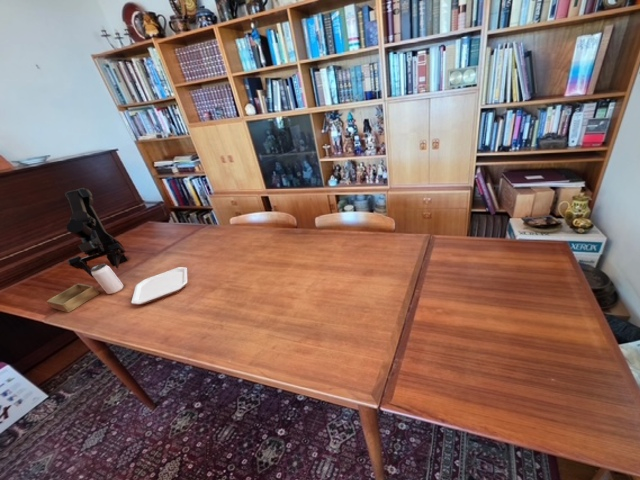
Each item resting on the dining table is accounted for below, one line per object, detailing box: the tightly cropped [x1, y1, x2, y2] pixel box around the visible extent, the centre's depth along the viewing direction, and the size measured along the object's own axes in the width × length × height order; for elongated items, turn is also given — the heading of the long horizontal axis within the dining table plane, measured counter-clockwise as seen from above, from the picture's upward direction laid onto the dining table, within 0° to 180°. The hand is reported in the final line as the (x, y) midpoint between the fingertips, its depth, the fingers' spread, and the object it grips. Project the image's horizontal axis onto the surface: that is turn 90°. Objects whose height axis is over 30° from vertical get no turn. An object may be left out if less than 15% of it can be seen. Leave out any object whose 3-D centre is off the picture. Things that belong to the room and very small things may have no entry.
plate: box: [130, 266, 188, 306], centre depth 124 cm, size 21×21×2 cm
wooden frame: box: [46, 283, 100, 313], centre depth 126 cm, size 12×12×4 cm
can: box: [90, 263, 125, 295], centre depth 126 cm, size 6×6×12 cm
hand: (105, 272), depth 127 cm, fingers open, 9 cm apart
